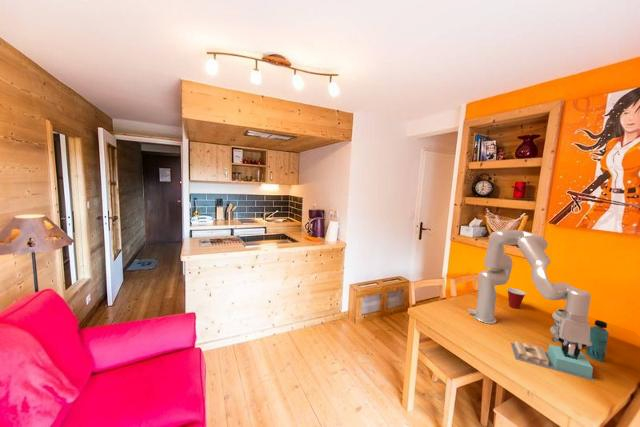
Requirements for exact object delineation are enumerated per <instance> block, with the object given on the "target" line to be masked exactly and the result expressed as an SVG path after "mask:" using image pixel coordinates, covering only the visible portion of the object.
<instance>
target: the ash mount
mask: <svg viewBox="0 0 640 427" xmlns="http://www.w3.org/2000/svg"><path fill="white" fill-rule="evenodd" d="M514 344H515V348H516V351H517V354H518V357H519V358H521V359H525V360H528V361H532V362H536V363H539V364H543V365H547V366H548V363H549V360H548V358H547V356H546V354H545V352H546V351H545V352H544V347H541V346H540V347H539V346H536V345H531V344H528V343H525V342H524V343H523V342H522V341H521V342H520V341H517V340H516V341H515V342H514Z"/></svg>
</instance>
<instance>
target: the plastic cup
mask: <svg viewBox="0 0 640 427" xmlns="http://www.w3.org/2000/svg"><path fill="white" fill-rule="evenodd" d="M506 289H507V290H506V291H507V296H508V297H507V298H508V306H509V307H510V308H512V309H515V310H517V309H520V307H521V305H522V303H523V299H524V298H525V296H526V295H527V293H526V292H525V291H523V290H521V289H517V288H512V287H507V288H506Z"/></svg>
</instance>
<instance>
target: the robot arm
mask: <svg viewBox="0 0 640 427" xmlns="http://www.w3.org/2000/svg"><path fill="white" fill-rule="evenodd" d="M487 242H488V243H487V247H486V248H487V249H486V252H485V257H484V262H483V265H484V266H485V268H487V269H485V270H482V271H480V272H478V276H477V281H478V291H477V292H478V293H477V302H476V308H475V309H472V308H468V309H467V312H468V313H470V314H472V316H473V318H474V319H475V320H476V321H479V322H480V321H481V323H483V322H484V324H488V325H489V324H490V325H491V324H492V325H494V324H497V322H498V321H497V318H496V317H495V310H496V303H497V290H496V288H495V287H496V286H503V285H506V284H507V283H508V282H509V279H510V276H511V272H512V269H513V266H514V265H513V264H514V263H513V259H512V257H511V256H510V254H508V253H507V254H506V253H505V246H509V245H510V246H511V245H517V247H518V248H519V250H520V252H521V253H522V254H523V255H524V256H523V257H525V260H526V261H527V262H528V264H529V265H530V266H531V270H530V271H531V272H530V273H531V280H532V283H533V285H534V286H535V288H536V290H537V291H538V292H539V293H540V295H541V296H542V297H543V298H545V299H547V300H549V301H559V300H566V301H565V306H564V307H565V308H564V309H565V310H564V311H561V312H560V313H561V314H563V316H562V317H561V320H560V322H559V326H558V331H556V332H555V333H554V334H552V336H553V337H555V338H557V339H558V340H560V342H561V343H562V344H561V343H560V344H561V347H562V348H561V349H562V351H563V352H564V354H567V349H568V346H567V342H568V341H571V342H575V343H577V344H576V351H575V356H576V357H578V355H579V354H580V352H581V350H582V349H583V348H587V346H592V343H591V341H590V328H591V326H590V322H589V321H588V318H589V313H590V312H589V311H590V306H591V299H592V295H591V293H589V292H588V291H586V290H583V289H579V288H577V287H574V286H573V285H570V284H569V283H565V282H555V283H554V282H553V283H552V282H551V280H550V278H548V275H547V268H548V266H549V265H550V264H551V258H549V256H548V255H547V253H546V252H545V250H546V249H547V248H548V240H547V239H546V238H545V237H543V236H542V235H539V234H536V233H533V232H532V233H531V232H529V231H525V230H521V229H520V230H519V229H502V230H500V229H499V230H495V231H493V232H491V234H490V235H489V236H488V241H487ZM559 336H560V337H559Z"/></svg>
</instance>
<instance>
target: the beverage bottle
mask: <svg viewBox="0 0 640 427" xmlns="http://www.w3.org/2000/svg"><path fill="white" fill-rule="evenodd" d="M607 327H608V323H607V322H605V321H602V320H601V319H599V320H598V319H595V321H594V325H593V326H590V341H591V343H592V346H586V349H585V352H586V353H585V354H586V356H587V357H588V358H590V359H592V360H594V361H598V362H603V361H604V360H605V358H606V356H607V355H606V353H607V347H608V342H609V341H608V339H609V335H610V332H609V331H608V330H607Z"/></svg>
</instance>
